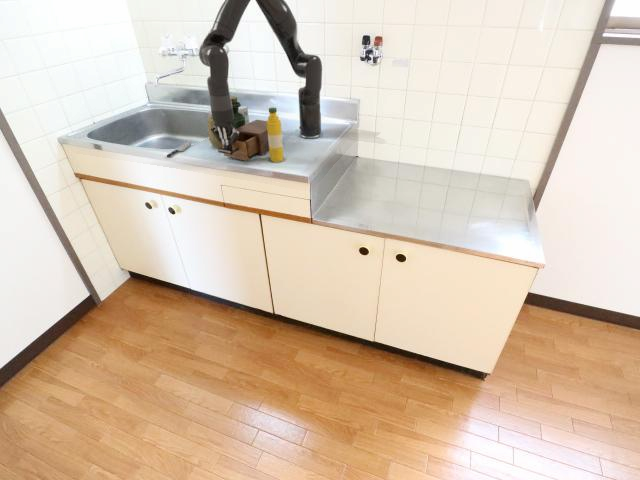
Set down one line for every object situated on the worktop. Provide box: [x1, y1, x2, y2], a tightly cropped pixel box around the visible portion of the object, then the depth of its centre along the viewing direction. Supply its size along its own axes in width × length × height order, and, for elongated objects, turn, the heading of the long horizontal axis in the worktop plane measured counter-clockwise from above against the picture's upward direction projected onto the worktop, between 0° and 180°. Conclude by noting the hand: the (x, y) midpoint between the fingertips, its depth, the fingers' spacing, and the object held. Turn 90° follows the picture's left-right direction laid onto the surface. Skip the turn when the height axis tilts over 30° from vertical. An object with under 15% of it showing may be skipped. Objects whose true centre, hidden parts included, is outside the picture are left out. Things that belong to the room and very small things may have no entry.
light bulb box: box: [238, 104, 250, 125], centre depth 172 cm, size 11×7×11 cm, turn 130°
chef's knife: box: [166, 140, 192, 158], centre depth 157 cm, size 19×1×3 cm
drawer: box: [217, 133, 259, 162], centre depth 147 cm, size 19×11×7 cm, turn 151°
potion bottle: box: [230, 96, 245, 129], centre depth 161 cm, size 8×8×18 cm
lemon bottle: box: [266, 107, 284, 163], centre depth 141 cm, size 5×5×20 cm
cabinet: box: [236, 119, 270, 156], centre depth 156 cm, size 15×12×9 cm
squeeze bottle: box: [206, 110, 223, 149], centre depth 154 cm, size 8×8×18 cm
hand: (229, 153), depth 142 cm, fingers closed
